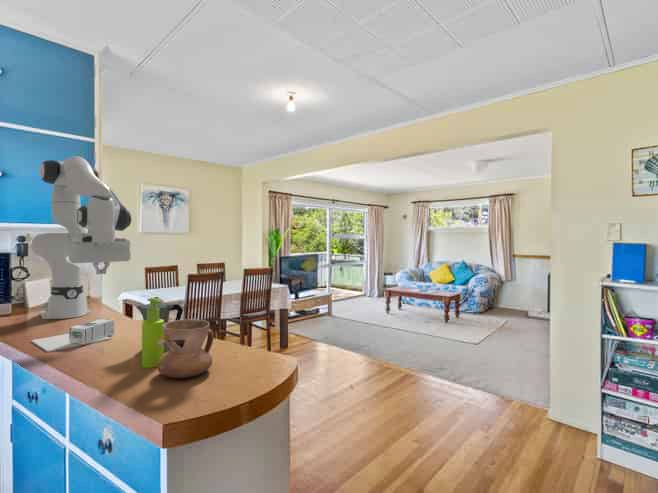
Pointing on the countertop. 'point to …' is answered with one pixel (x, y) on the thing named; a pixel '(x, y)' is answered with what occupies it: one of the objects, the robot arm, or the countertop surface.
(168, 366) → the ceramic jug
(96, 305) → the countertop surface
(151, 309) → the soap dispenser
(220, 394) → the countertop surface
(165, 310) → the coffeepot
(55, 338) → the grey mat
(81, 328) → the syrup box
